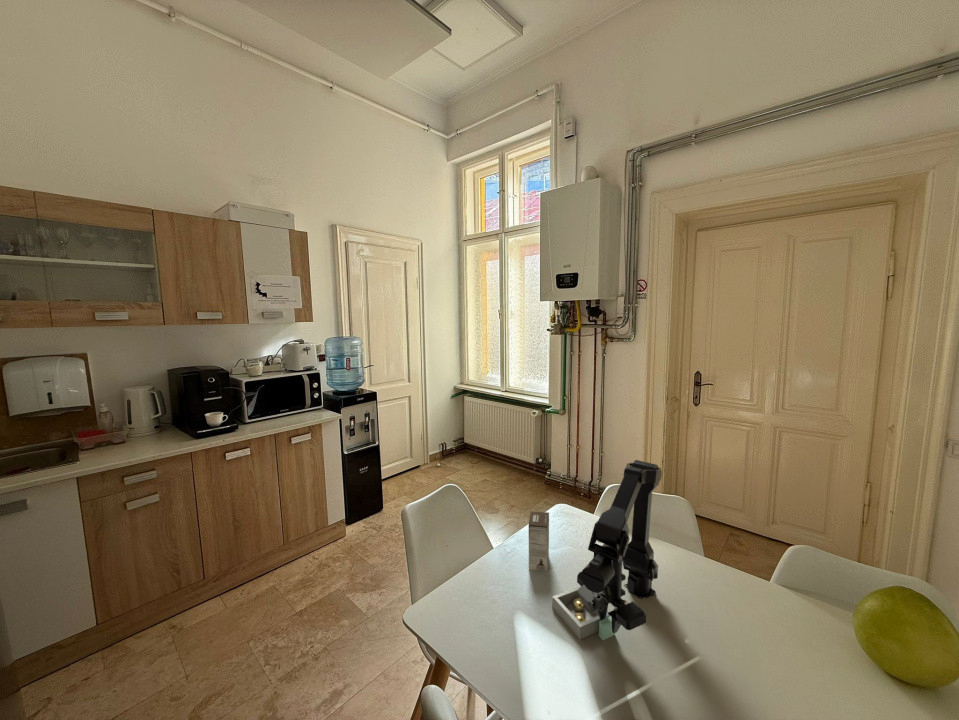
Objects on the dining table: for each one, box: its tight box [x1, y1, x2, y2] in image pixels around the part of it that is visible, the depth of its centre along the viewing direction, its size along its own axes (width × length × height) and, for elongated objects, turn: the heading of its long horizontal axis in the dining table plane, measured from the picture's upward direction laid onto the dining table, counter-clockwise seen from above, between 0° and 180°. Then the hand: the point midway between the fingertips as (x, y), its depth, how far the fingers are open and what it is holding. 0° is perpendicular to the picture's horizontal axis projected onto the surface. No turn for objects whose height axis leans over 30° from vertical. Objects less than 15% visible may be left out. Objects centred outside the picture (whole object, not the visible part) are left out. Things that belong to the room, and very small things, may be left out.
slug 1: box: [573, 598, 584, 613], centre depth 110 cm, size 3×3×2 cm
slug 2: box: [574, 613, 586, 623], centre depth 104 cm, size 3×3×2 cm
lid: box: [598, 616, 616, 641], centre depth 96 cm, size 10×12×5 cm
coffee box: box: [528, 511, 550, 572], centre depth 130 cm, size 9×6×16 cm
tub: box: [551, 585, 610, 640], centre depth 107 cm, size 10×12×4 cm
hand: (608, 626), depth 100 cm, fingers open, 4 cm apart
